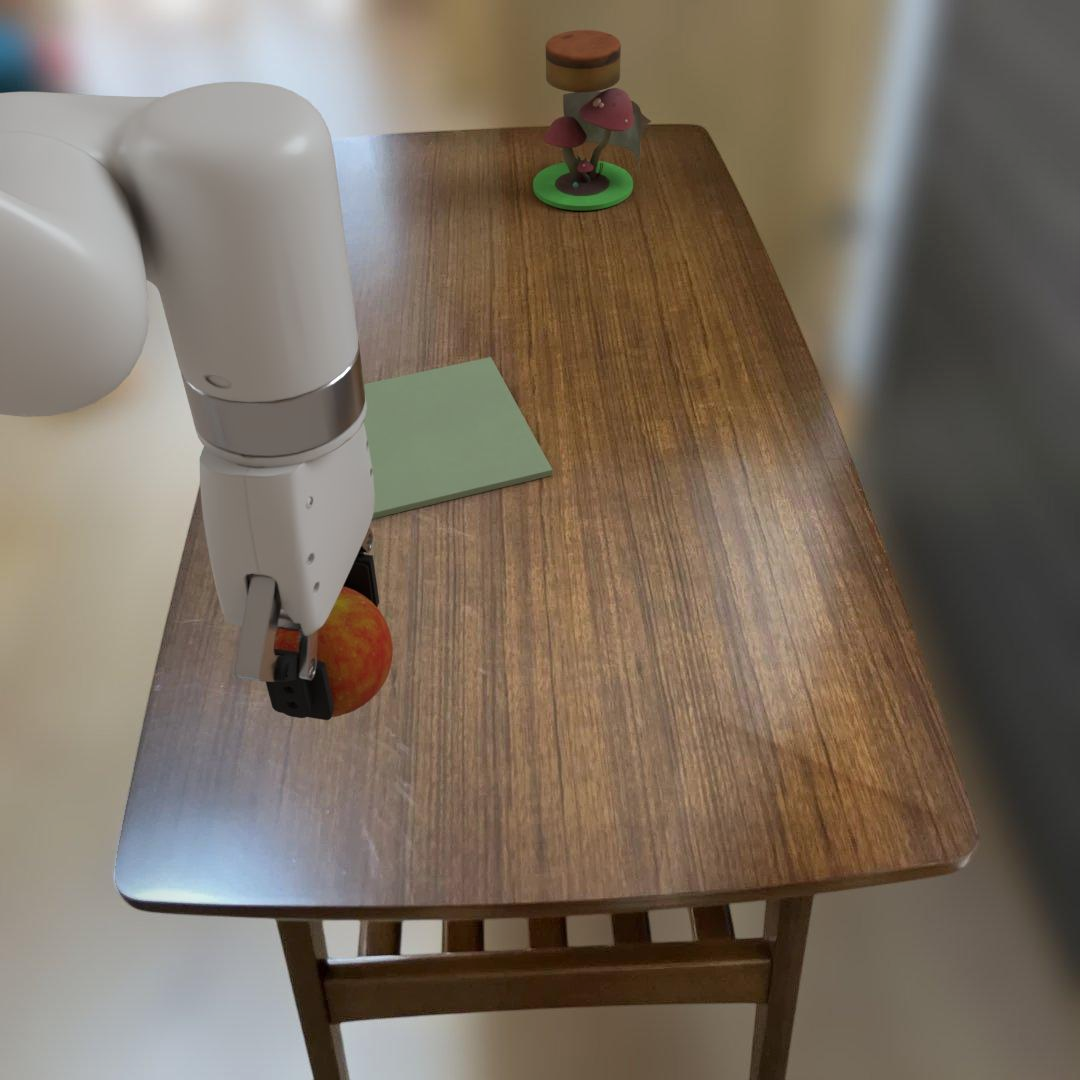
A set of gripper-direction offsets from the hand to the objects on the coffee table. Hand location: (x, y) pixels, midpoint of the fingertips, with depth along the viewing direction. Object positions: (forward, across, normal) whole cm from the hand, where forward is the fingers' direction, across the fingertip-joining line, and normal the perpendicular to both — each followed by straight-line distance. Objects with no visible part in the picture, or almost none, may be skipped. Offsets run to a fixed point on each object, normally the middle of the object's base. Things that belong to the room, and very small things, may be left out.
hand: (328, 654), depth 61 cm
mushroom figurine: (+8, -74, +2) cm, 74 cm away
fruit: (+3, 0, 0) cm, 3 cm away
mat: (+9, -30, -4) cm, 31 cm away
